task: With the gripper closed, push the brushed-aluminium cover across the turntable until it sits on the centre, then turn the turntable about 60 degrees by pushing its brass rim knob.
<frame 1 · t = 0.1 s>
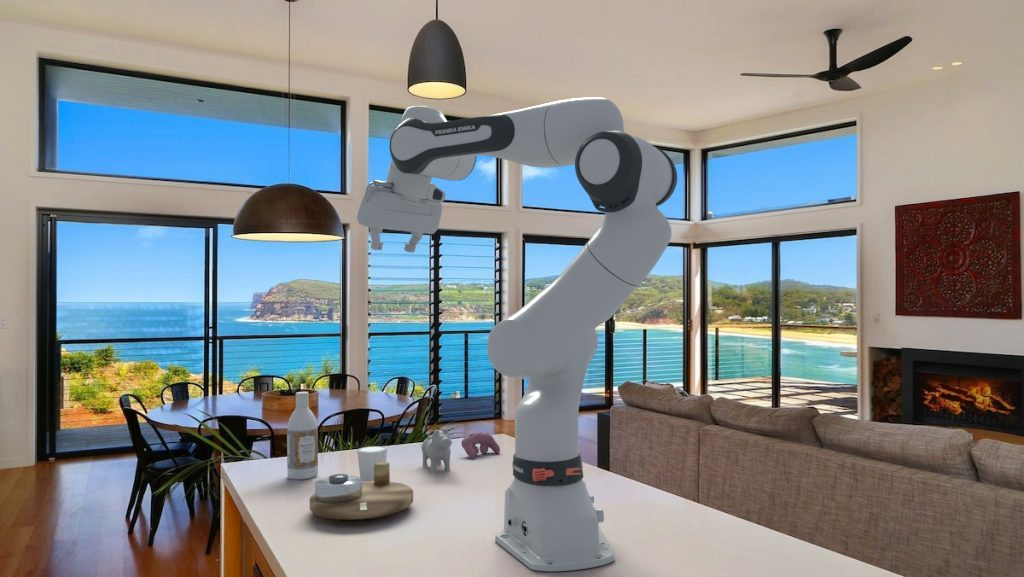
hand: (392, 250, 139), 52 cm above the kitchen island, tool tilted 20°, fingers open, 8 cm apart
cover: (338, 496, 131), point 3 cm above the kitchen island, touching turntable
turntable: (362, 488, 132), point 4 cm above the kitchen island, hinge at 0.0°, touching cover
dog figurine: (438, 470, 164), on the kitchen island
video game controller: (480, 455, 178), on the kitchen island
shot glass: (372, 479, 156), on the kitchen island
bath foam: (302, 477, 159), on the kitchen island
turntable base: (362, 510, 132), on the kitchen island
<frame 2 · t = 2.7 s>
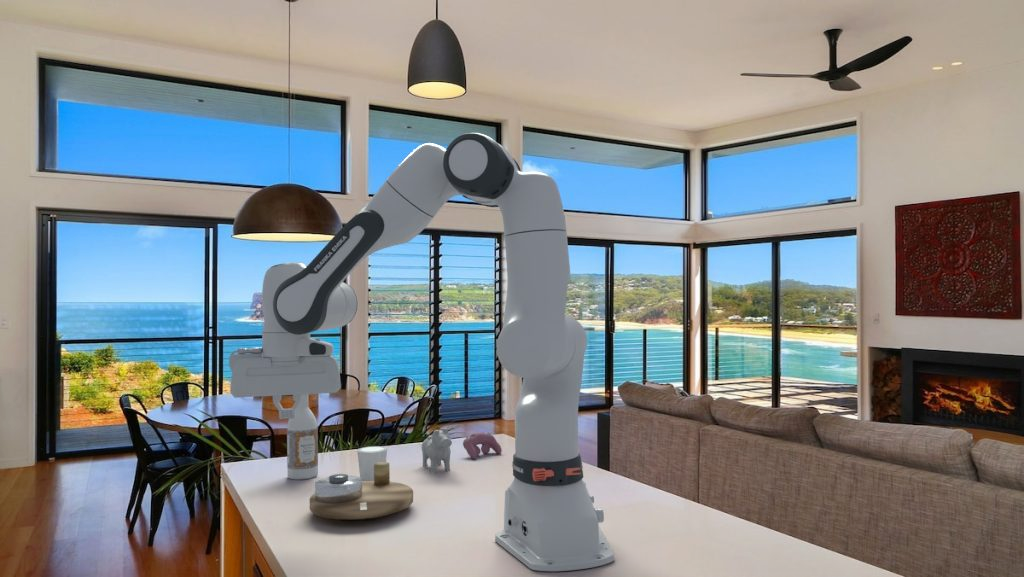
hand: (287, 418, 129), 19 cm above the kitchen island, tool pointing down, fingers closed
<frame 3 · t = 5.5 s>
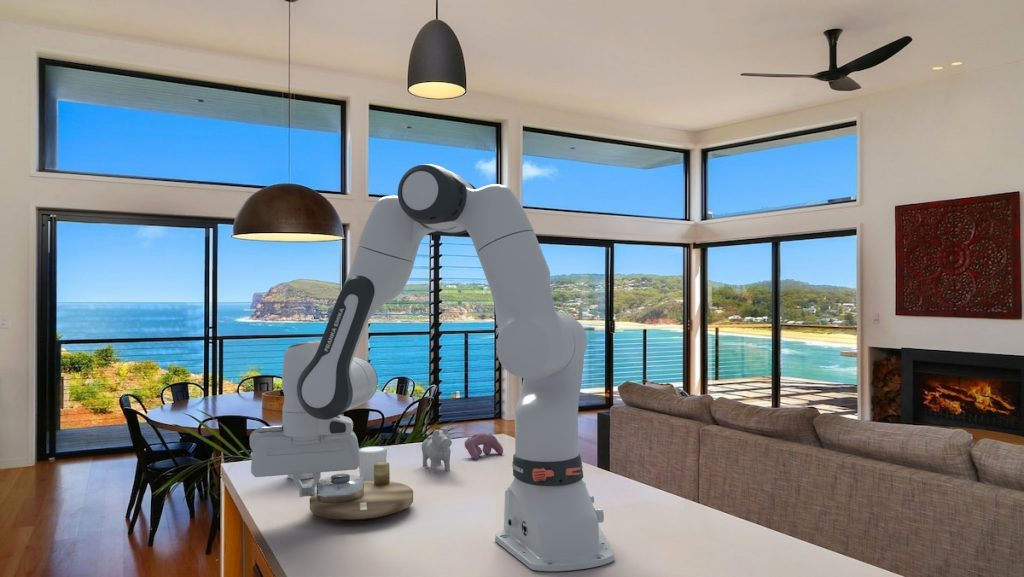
hand: (307, 495, 129), 4 cm above the kitchen island, tool pointing down, fingers closed
cover: (340, 496, 131), point 3 cm above the kitchen island, touching gripper
turntable: (362, 488, 132), point 4 cm above the kitchen island, hinge at 0.0°
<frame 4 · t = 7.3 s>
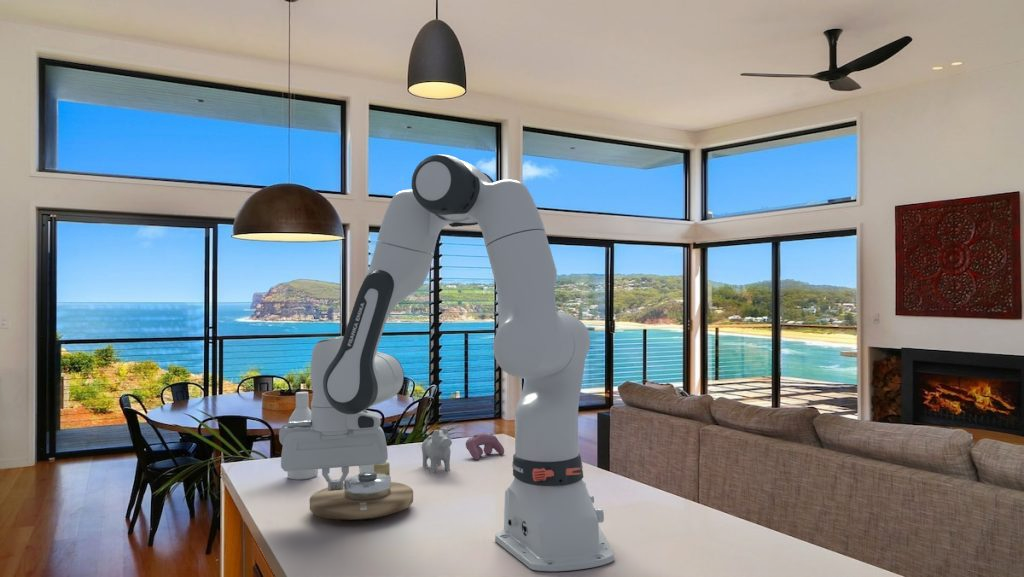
hand: (335, 489, 131), 5 cm above the kitchen island, tool pointing down, fingers closed
cover: (367, 494, 132), point 3 cm above the kitchen island, touching turntable
turntable: (362, 488, 132), point 4 cm above the kitchen island, hinge at -0.1°, touching cover
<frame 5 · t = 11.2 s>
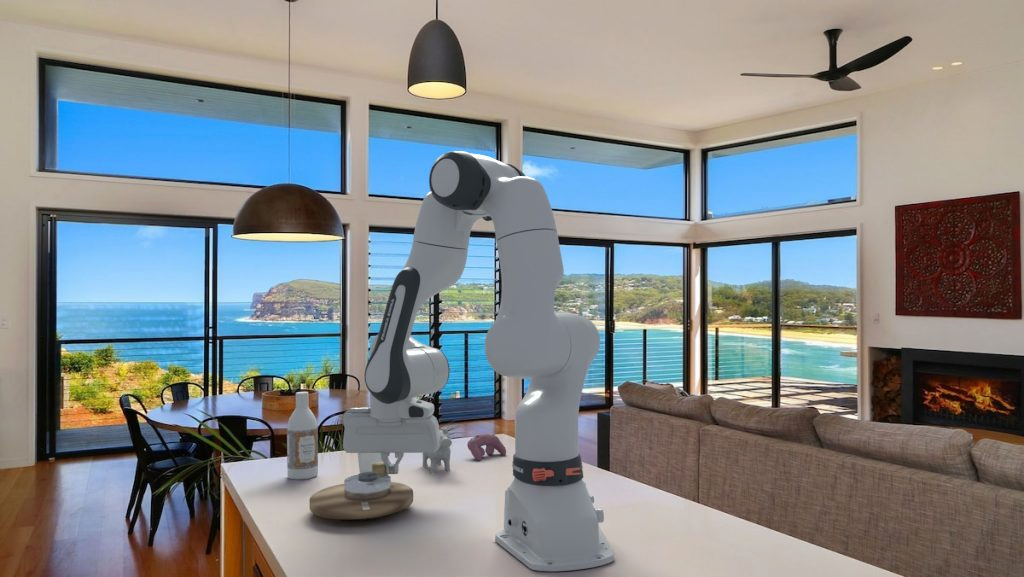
hand: (392, 473, 140), 5 cm above the kitchen island, tool pointing down, fingers closed
turntable: (362, 488, 132), point 4 cm above the kitchen island, hinge at 2.8°, touching cover, gripper
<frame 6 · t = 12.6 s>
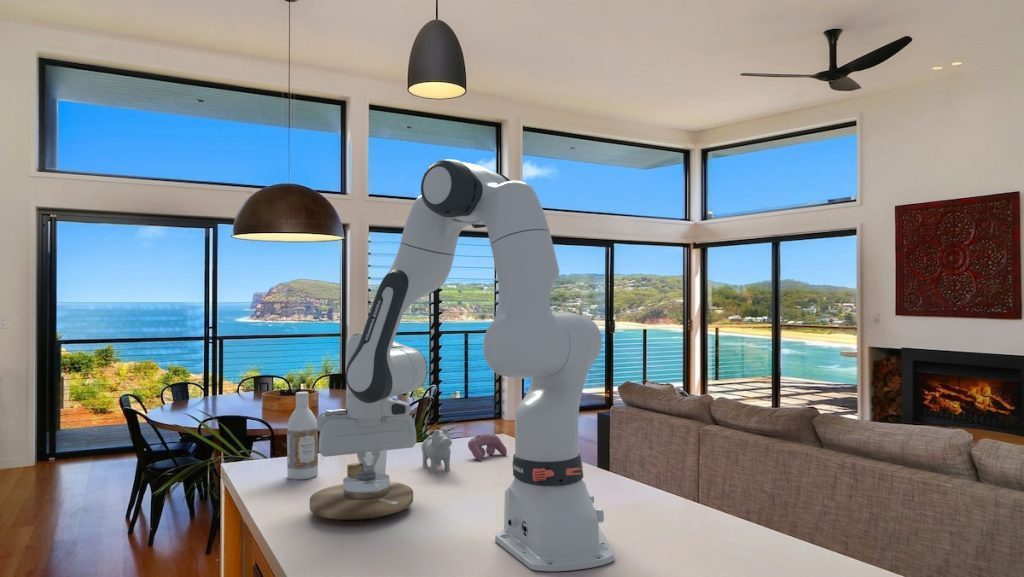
hand: (368, 472, 141), 5 cm above the kitchen island, tool pointing down, fingers closed
turntable: (362, 488, 132), point 4 cm above the kitchen island, hinge at 38.0°, touching cover, gripper
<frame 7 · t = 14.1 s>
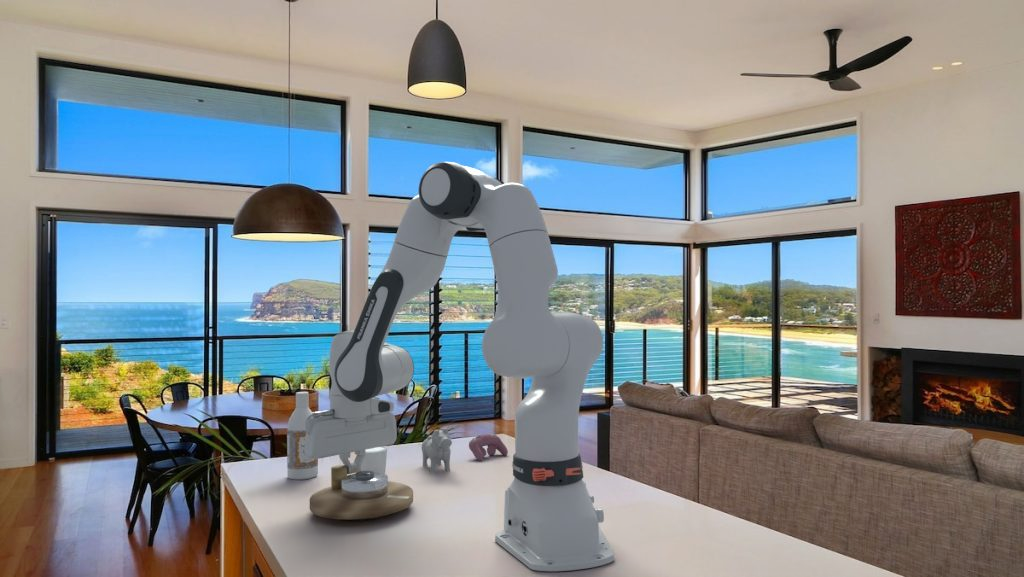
hand: (352, 472, 140), 6 cm above the kitchen island, tool pointing down, fingers closed
turntable: (362, 488, 132), point 4 cm above the kitchen island, hinge at 61.3°, touching cover
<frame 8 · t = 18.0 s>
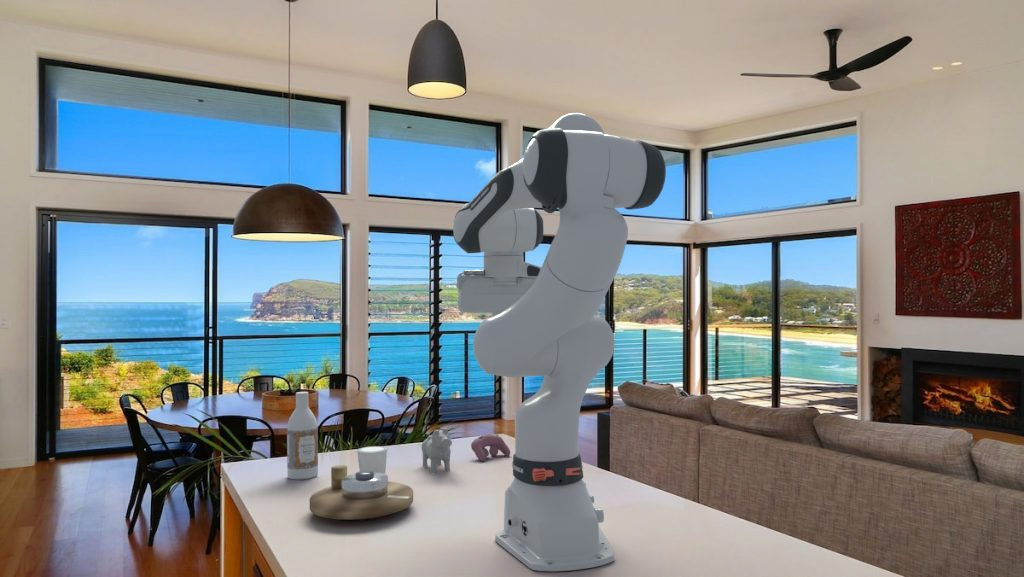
hand: (504, 333, 146), 34 cm above the kitchen island, tool pointing down, fingers closed
at the end: cover 1.1 cm from the turntable (horizontally); turntable at +61° (first picture: +0°); cover point 3.2 cm above the kitchen island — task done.
